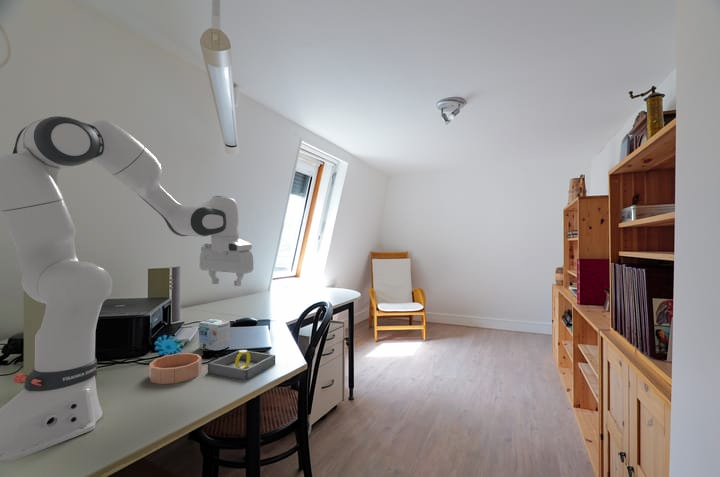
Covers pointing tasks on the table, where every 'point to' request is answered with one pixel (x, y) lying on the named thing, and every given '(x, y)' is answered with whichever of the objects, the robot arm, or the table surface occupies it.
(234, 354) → the parts tray
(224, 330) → the light bulb box
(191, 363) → the bowl
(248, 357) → the watch
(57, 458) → the table surface
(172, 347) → the gear
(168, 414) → the table surface
